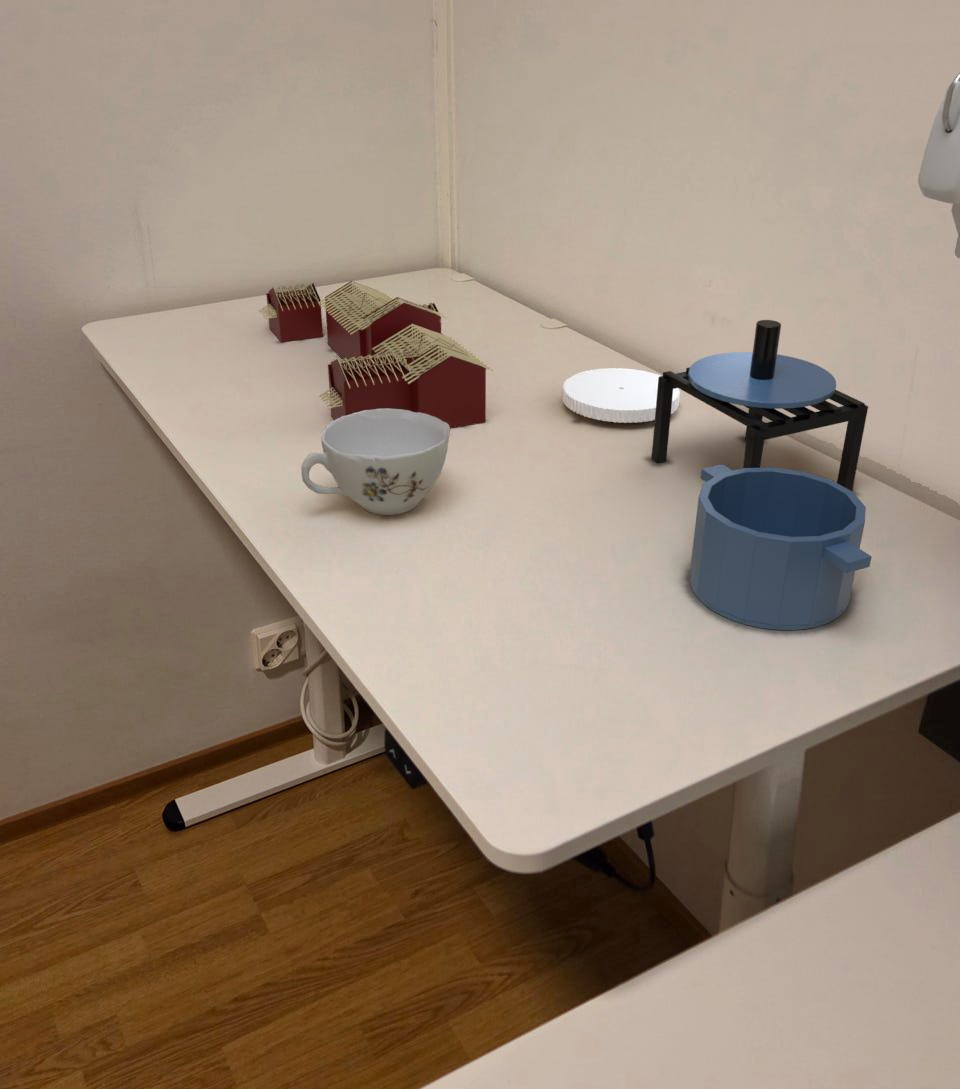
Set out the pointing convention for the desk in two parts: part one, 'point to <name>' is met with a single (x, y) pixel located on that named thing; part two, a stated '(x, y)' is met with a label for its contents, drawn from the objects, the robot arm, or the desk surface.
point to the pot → (776, 547)
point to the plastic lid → (615, 395)
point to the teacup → (382, 458)
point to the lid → (762, 375)
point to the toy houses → (384, 353)
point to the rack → (762, 431)
